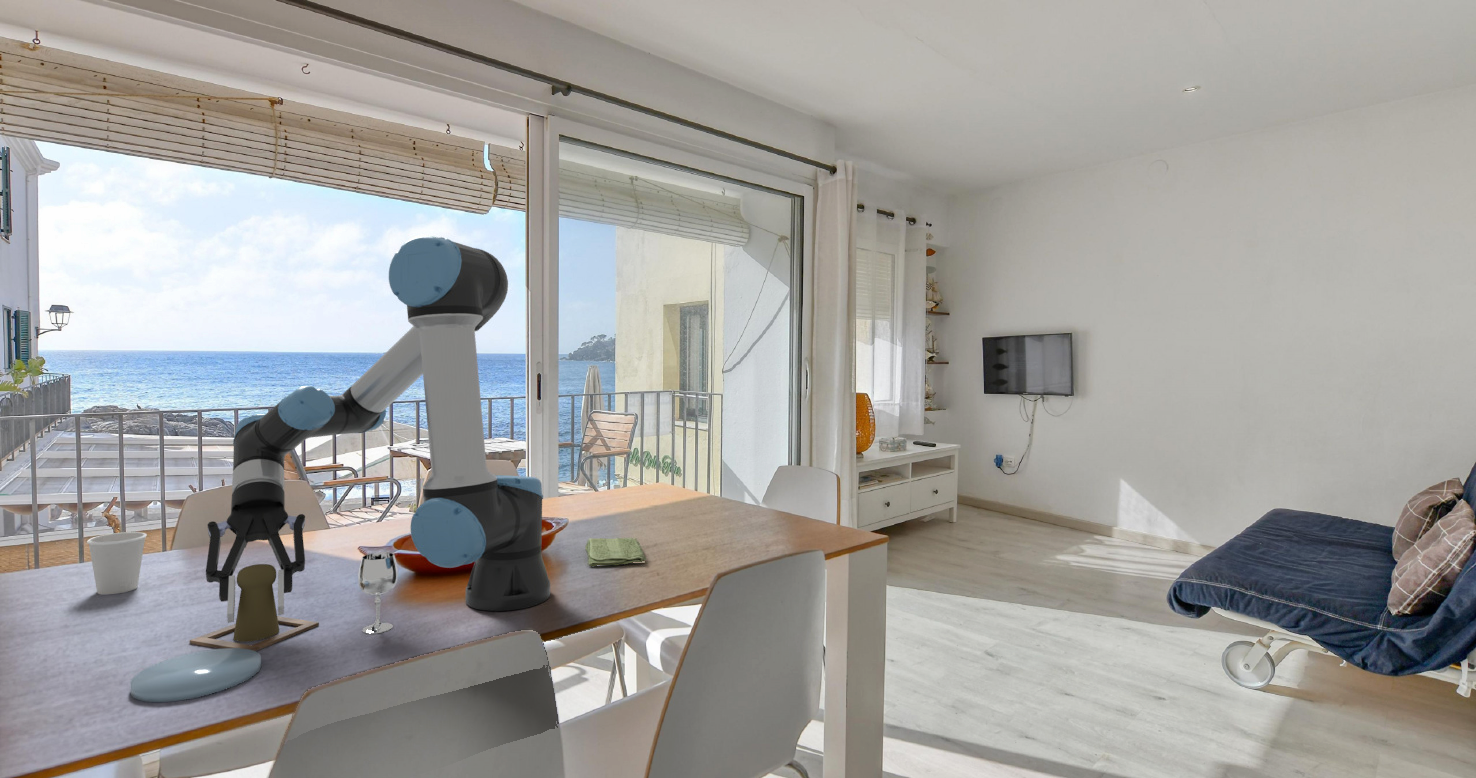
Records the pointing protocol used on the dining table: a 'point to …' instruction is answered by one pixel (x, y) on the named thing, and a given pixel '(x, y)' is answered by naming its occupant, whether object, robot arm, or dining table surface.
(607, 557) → the washcloth
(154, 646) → the dining table surface
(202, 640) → the walnut frame
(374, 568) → the wineglass
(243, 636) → the cork
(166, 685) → the saucer
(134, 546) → the dixie cup
